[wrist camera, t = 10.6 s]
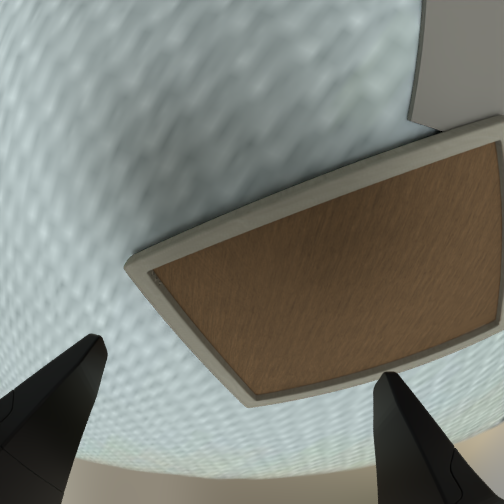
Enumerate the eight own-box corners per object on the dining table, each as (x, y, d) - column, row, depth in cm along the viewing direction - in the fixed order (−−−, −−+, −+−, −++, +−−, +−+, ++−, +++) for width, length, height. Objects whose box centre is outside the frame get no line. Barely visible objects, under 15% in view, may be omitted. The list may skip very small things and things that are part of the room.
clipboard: (120, 267, 20) (539, 111, 11) (129, 254, 21) (525, 106, 12) (246, 409, 29) (529, 316, 20) (247, 396, 30) (522, 305, 21)
